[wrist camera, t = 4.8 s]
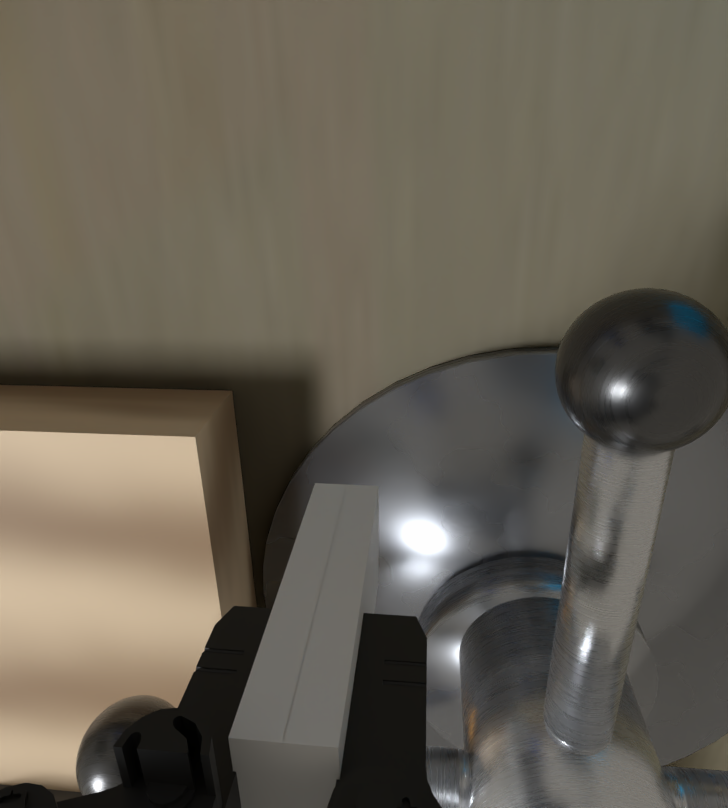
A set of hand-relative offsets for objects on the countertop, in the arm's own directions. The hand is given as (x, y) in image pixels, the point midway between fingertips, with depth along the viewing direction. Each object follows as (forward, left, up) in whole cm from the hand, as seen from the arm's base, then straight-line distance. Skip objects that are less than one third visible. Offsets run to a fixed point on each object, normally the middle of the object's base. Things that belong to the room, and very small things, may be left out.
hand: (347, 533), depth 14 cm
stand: (+7, -10, -4) cm, 13 cm away
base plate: (+5, +5, -4) cm, 8 cm away
